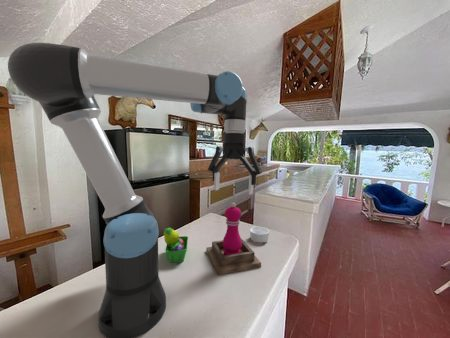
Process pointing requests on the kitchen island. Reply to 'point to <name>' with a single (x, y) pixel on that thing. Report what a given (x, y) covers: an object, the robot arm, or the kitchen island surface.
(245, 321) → the kitchen island surface
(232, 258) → the walnut stand
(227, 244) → the pepper mill
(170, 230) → the fruit basket
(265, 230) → the ramekin
